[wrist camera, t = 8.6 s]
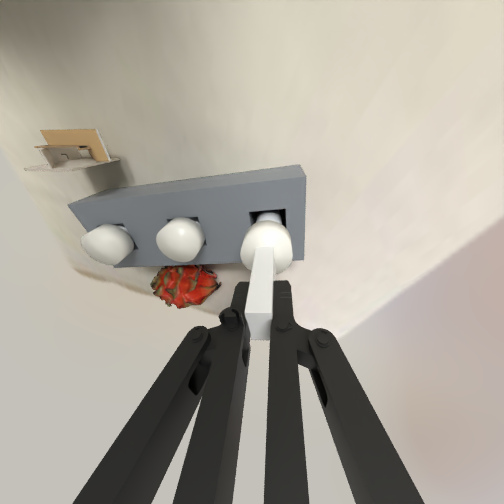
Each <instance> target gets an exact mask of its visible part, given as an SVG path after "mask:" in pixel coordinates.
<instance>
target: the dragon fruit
mask: <svg viewBox="0 0 504 504" xmlns="http://www.w3.org/2000/svg"><path fill="white" fill-rule="evenodd" d="M197 266H198V267H195V266H194V265H187V266H185V265H175V266H174V267H172V266H164V267H165V268H161V271H159V272H158V274H157V277H154V279H153V281H152V283H151V284H150V285H151V287H152V289H153V290H156V291H155V292H154V293H153V294H154V295H155V296H159V297H160V299H161V300H165V301H166V304H167V305H168V306H169V307H170V306H171V304H175V305H176V306H177V308H179V309H180V308H186V307H189V306H190V305H201V304H202V303H203V302H204V301H205V300H206V298H207V297H208V296H210V295H211V294H212V293H213V292H214V291H215V290H217V289H218V288H219V287H220V286H221V282H220V283H219V285H218V283H217V282H216V280H215V279H214V278H217V275H216V274H215V273H214V272H213V271H212V270H209V269H206V271H207V270H208V271H207V272H210V273H212V274H213V275H209V274H208V273H206V272H204V271H202V268H203V265H202V264H197Z"/></svg>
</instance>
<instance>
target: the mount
mask: <svg viewBox="0 0 504 504" xmlns="http://www.w3.org/2000/svg"><path fill="white" fill-rule="evenodd" d="M305 205H306V175H305V173H304V171H303V169H302V168H301V166H300V165H293V166H285V167H278V168H270V169H262V170H255V171H247V172H239V173H232V174H224V175H217V176H209V177H201V178H194V179H186V180H178V181H171V182H163V183H156V184H148V185H140V186H133V187H125V188H117V189H110V190H104V191H102V192H99V193H97V194H94V195H91V196H89V197H86V198H84V199H81V200H78V201H76V202H73V203H71V204H68V207H69V208H70V209H71V211H72V212H73V213H74V215H75V216H76V217H77V219H78V220H79V221H80V223H81V224H82V225H83V227H84V228H85V229H86V231H87V232H88V233H89V232H90V231H92V230H94V229H96V228H97V227H99V226H101V225H103V224H112V225H116V224H121V223H123V224H124V226H125V227H126V229H127V231H128V232H129V234H130V236H131V237H132V239H133V241H134V242H133V243H134V249H133V251H132V252H131V253H130V254H128V255H127V256H126V257H125V258H124V259H123V260H122V261H120V262H119V263H118V264H116V265H113V267H114V268H122V267H147V266H172V265H197V264H221V263H243V262H242V260H241V256H240V252H241V247H242V244H243V240H244V237H245V234H246V232H247V230H248V228H249V227H250V226H252V225H253V224H254V223H256V220H257V211H265V210H276V209H285V219H282V225H283V226H284V227H285V228H286V229H287V230H288V232H289V234H290V237H291V245H292V254H293V257H292V261H295V260H304V240H305ZM177 217H185V218H187V217H198V219H199V222H200V225H201V228H202V230H203V232H204V235H205V241H204V244H203V245H202V247H201V249H200V250H199V252H198V253H197V255H196V257H195V258H194V259H193V260H191V261H188V262H178V261H174V260H172V259H170V258H168V257H167V256H166V255H164V254H163V253H162V252H161V250H160V249H159V247H158V245H157V242H156V236H157V234H158V232H159V231H160V230H161V229H162V228H163V227H164V226H166V225H167V224H168V223H169V222H170V221H171V220H172V219H174V218H177Z"/></svg>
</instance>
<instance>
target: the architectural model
mask: <svg viewBox="0 0 504 504" xmlns="http://www.w3.org/2000/svg"><path fill="white" fill-rule="evenodd" d="M40 131H41V133H42V135H43V136H44V138H45V140H46V141H47V143H48V145H44V146H34V147H35V148H42V149H40V150H39V151H40V153H41V154H42V156H43V157H44V159H45V161H46V162H47V164H46V165H40V166H35V167H29V168H24V170H25V171H75V170H79V169H83V168H87V167H92V166H96V165H100V164H105V163H109V162H113V161H118V160H120V158H110V157H109V154H108V152H107V150H106V147H105V145H104V143H103V140H102V138H101V136H100V133H99V131H98V129H76V130H40ZM107 146H108V145H107ZM77 148H78V149H77ZM84 149H88V151H89V153H90V155H91V157H92V158H82V157H81V155H80V153H79V151H78V150H84Z"/></svg>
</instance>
